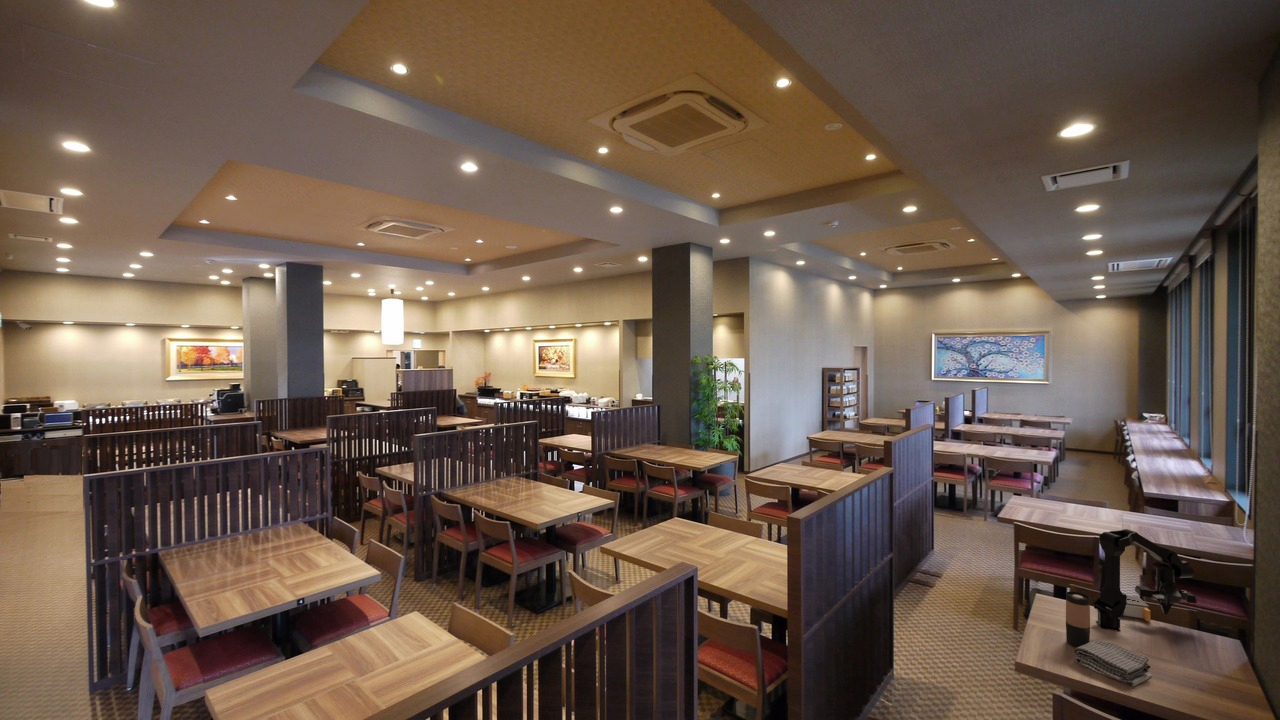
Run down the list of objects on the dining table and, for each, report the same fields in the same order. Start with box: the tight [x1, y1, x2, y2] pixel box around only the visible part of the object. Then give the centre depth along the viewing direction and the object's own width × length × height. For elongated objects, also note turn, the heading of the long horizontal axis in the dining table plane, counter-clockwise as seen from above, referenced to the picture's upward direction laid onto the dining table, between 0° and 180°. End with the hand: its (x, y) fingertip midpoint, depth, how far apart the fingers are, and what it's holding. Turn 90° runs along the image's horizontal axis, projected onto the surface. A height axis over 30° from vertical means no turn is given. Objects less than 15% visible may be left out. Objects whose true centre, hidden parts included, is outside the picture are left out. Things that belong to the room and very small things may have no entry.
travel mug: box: [1065, 590, 1091, 649], centre depth 219 cm, size 8×8×20 cm
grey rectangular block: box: [1123, 604, 1152, 622], centre depth 240 cm, size 8×4×5 cm, turn 67°
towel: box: [1073, 639, 1153, 688], centre depth 201 cm, size 15×18×8 cm
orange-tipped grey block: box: [1098, 594, 1150, 620], centre depth 247 cm, size 15×10×7 cm, turn 67°
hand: (1165, 614), depth 235 cm, fingers closed
